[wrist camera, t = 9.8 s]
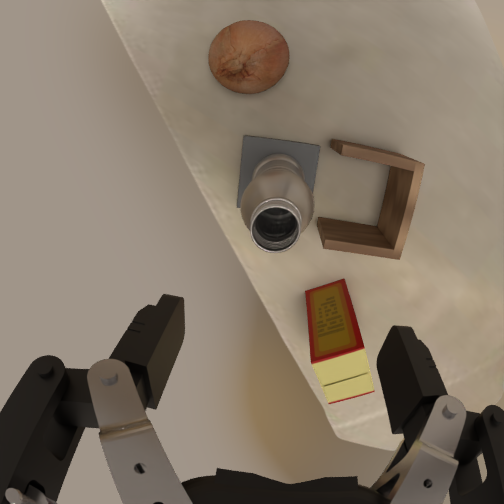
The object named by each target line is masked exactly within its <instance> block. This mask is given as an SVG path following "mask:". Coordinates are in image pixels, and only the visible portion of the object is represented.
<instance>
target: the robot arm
mask: <svg viewBox="0 0 504 504" xmlns="http://www.w3.org/2000/svg"><path fill="white" fill-rule="evenodd" d="M184 334H185V316H184V298H183V297H178V296H173V295H166V294H163V295H162V297H161V298H160V300H159V302H158V304H157V305H156V306H154V305H147V306H146V307H144V308H143V309H141V310H140V311H138V313H137V314H136V316H135V317H134V319H133V321H132V323H131V324H130V325H129V327H128V329H127V330H126V332H125V333H124V335H123V336H122V338H121V339H120V341H119V343H118V344H117V346H116V348H115V349H114V351H113V352H112V354H111V356H110V357H109V359H104V360H101V361H99V362H97V363H95V364H94V365H92V366H91V368H90V369H71V368H65V366H64V364H63V362H62V361H61V360H60V359H59V358H58V357H55V356H50V355H47V356H42V357H39V358H37V359H36V360H34V361H33V362H32V364H31V365H30V366H29V368H28V369H27V371H26V372H25V374H24V375H23V377H22V378H21V380H20V381H19V383H18V384H17V386H16V388H15V389H14V391H13V392H12V394H11V395H10V397H9V399H8V400H7V402H6V404H5V405H4V407H3V409H2V411H1V412H0V504H57V503H56V501H57V498H58V495H59V493H60V490H61V487H62V484H63V481H64V479H65V476H66V474H67V471H68V468H69V466H70V463H71V461H72V458H73V456H74V453H75V451H76V448H77V446H78V443H79V441H80V439H81V436H82V434H83V431H84V429H85V427H89V428H100V432H99V438H100V442H101V445H102V448H103V451H104V454H105V457H106V460H107V463H108V466H109V469H110V471H111V474H112V477H113V479H114V482H115V485H116V487H117V490H118V492H119V495H120V497H121V500H122V502H123V504H442V503H443V501H444V499H445V497H446V494H447V492H448V490H449V495H450V502H451V504H504V411H503V410H502V409H501V408H500V407H498V406H496V405H489V406H487V407H486V408H485V409H484V410H483V411H482V412H481V414H480V413H475V412H470V411H466V409H465V407H464V405H463V404H462V402H461V401H460V400H459V399H457V398H456V397H453V396H450V395H448V394H447V391H446V389H445V386H444V384H443V381H442V379H441V376H440V374H439V372H438V369H437V368H436V365H435V362H434V360H432V359H433V358H432V356H431V353H430V351H429V349H428V348H427V347H426V345H425V344H424V343H423V342H422V341H421V340H418V339H417V337H416V335H415V333H414V331H413V329H412V327H408V326H395V325H394V326H392V327H391V329H390V331H389V333H388V335H387V337H386V339H385V341H384V343H383V346H382V348H381V350H380V352H379V354H378V357H377V370H378V374H379V378H380V382H381V386H382V390H383V394H384V398H385V403H386V407H387V411H388V416H389V420H390V425H391V430H392V434H402V433H403V434H404V439H403V440H402V441H401V442H400V444H399V446H398V448H397V449H396V451H395V453H394V455H393V456H392V458H391V460H390V461H389V463H388V465H387V466H386V468H385V470H384V471H383V473H382V474H381V476H380V477H379V478H378V480H377V481H376V482H375V483H374V484H373V485H372V486H371V487H370V488H368V487H366V486H362V485H358V479H357V476H355V477H324V478H321V479H315V480H311V481H306V482H301V483H295V484H285V483H282V482H279V481H275V480H271V479H269V478H266V477H262V476H259V475H257V474H253V473H246V472H239V471H232V470H226V469H219V468H217V471H216V475H215V476H203V477H198V478H193V479H190V480H187V481H184V482H182V483H181V482H180V481H179V479H178V477H177V475H176V473H175V471H174V469H173V467H172V465H171V463H170V461H169V459H168V458H167V455H166V453H165V452H164V449H163V447H162V445H161V443H160V441H159V439H158V437H157V434H156V432H155V430H154V428H153V425H152V424H151V422H150V420H149V419H148V417H147V415H146V412H145V410H146V408H147V407H148V408H152V409H157V406H158V404H159V401H160V398H161V396H162V393H163V390H164V388H165V386H166V383H167V380H168V378H169V375H170V373H171V370H172V368H173V365H174V363H175V361H176V358H177V356H178V353H179V351H180V348H181V346H182V343H183V339H184ZM482 453H483V456H484V460H485V464H486V469H487V477H486V479H485V481H484V482H483V483H482V479H481V474H480V470H479V465H478V461H477V457H478V456H479V455H480V454H482Z"/></svg>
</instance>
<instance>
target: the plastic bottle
mask: <svg viewBox="0 0 504 504" xmlns="http://www.w3.org/2000/svg"><path fill="white" fill-rule="evenodd" d="M304 180H305V177H304V171H303V169H302V167H301V165H300V164H299V162H298V161H297V160H296V159H294V158H293V157H291V156H289V155H285V154H272V155H269V156H267V157H265V158H264V159H262V160H261V161H260V162H259V163H258V164H257V166H256V167H255V169H254V171H253V175H252V181H251V182H250V184H249V185H248V186H247V188H246V189H245V191H244V193H243V195H242V199H241V215H242V219H243V221H244V223H245V225H246V226H247V228H248V229H249V231H250V233H251V237H252V240H253V242H254V243H255V244H256V245H257V246H258V247H259V248H260V249H262V250H264V251H266V252H270V253H279V252H283V251H286V250H288V249H290V248H291V247H292V246H293V245H294V244H295V243H296V242H297V240H298V238H299V236H300V234H301V233H302V232H303V231H304V230H305V228H306V227H307V226H308V225H309V223H310V221H311V219H312V216H313V213H314V197H313V194H312V191H311V189H310V188H309V186H308V185H307V183H306V182H305V181H304Z"/></svg>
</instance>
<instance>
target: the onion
mask: <svg viewBox="0 0 504 504" xmlns="http://www.w3.org/2000/svg"><path fill="white" fill-rule="evenodd" d="M288 64H289V49H288V45H287V43H286V41H285V39H284V38H283V36H282V35H281V34H280V33H279V32H278V31H277V30H276V29H275V28H273V27H272V26H270V25H268V24H265V23H263V22H258V21H251V20H247V21H239V22H236V23H233V24H231V25H229V26H227V27H226V28H224V29H222V30H221V32H220V33H219V34H218V35H217V36H216V37H215V39H214V40H213V42H212V44H211V47H210V50H209V66H210V69H211V72H212V74H213V75H214V77H215V78H216V79H217V80H218V82H219V83H221V84H222V85H223V86H224V87H226V88H228V89H230V90H232V91H235V92H238V93H245V94H253V93H259V92H262V91H265V90H267V89H268V88H270V87H272V86H274V85H275V84H276V83H277V82H278V81H279V80H280V79H281V78H282V76H283V75H284V73H285V71H286V68H287V67H288Z"/></svg>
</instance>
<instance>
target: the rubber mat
mask: <svg viewBox="0 0 504 504" xmlns="http://www.w3.org/2000/svg"><path fill="white" fill-rule="evenodd" d="M319 151H320V146H319V145H313V144H307V143H300V142H293V141H286V140H279V139H271V138H263V137H254V136H244V139H243V148H242V158H241V169H240V179H239V190H238V200H237V208H241V199H242V195H243V193H244V191H245V189H246V188H247V186H248V185H249V184H250V182H251V181H252V175H253V171H254V169H255V167H256V166H257V164H258V163H259V162H260V161H261V160H262V159H264V158H265V157H267V156H269V155H272V154H285V155H289V156H291V157H293V158H294V159H296V160H297V161H298V162H299V164H300V165H301V167H302V169H303V171H304V177H305V180H304V181H305V182H306V183H307V185H308V186H309V188H310V189H311V191H312V194H313V189H314V183H315V176H316V170H317V164H318V157H319Z"/></svg>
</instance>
